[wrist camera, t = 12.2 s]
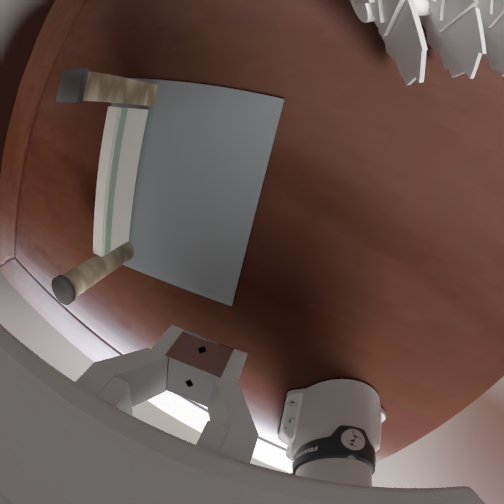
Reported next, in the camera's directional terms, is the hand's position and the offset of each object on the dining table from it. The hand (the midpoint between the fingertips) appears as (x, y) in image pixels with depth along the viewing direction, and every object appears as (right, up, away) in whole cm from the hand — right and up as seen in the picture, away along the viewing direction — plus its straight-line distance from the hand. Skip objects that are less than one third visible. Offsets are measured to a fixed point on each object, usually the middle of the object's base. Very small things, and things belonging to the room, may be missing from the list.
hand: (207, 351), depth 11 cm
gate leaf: (-15, +14, +27) cm, 34 cm away
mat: (-9, +12, +28) cm, 32 cm away
